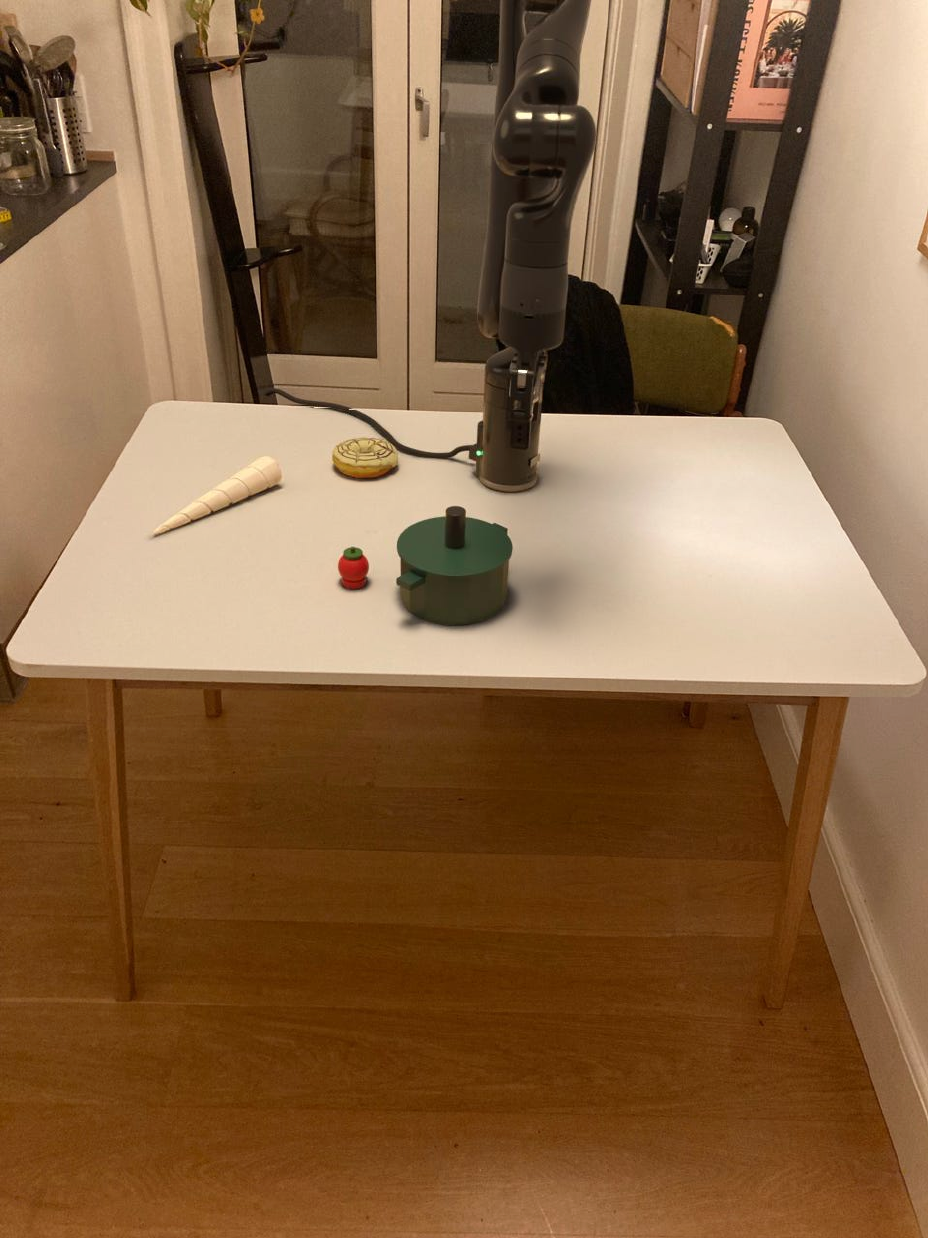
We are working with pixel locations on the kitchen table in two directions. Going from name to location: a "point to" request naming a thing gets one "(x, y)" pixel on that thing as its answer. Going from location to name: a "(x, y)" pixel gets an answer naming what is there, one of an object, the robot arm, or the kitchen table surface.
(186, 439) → the kitchen table surface
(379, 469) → the decorated donut
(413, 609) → the pan
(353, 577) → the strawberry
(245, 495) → the unicorn horn
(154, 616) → the kitchen table surface
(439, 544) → the lid
